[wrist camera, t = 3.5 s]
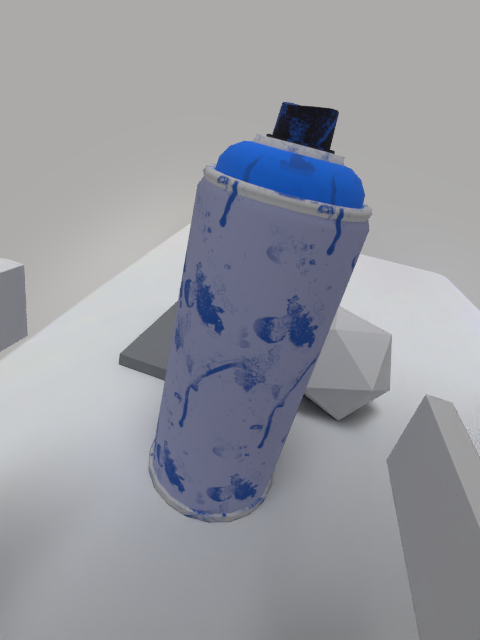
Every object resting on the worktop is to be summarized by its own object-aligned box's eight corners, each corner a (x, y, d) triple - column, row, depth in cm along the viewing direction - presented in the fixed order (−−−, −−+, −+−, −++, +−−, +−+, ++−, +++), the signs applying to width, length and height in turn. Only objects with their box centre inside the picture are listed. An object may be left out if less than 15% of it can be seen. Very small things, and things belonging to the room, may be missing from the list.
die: (387, 419, 32) (385, 313, 33) (398, 432, 24) (395, 292, 25) (295, 412, 35) (297, 314, 36) (278, 422, 26) (281, 295, 28)
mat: (279, 342, 38) (282, 334, 38) (259, 412, 28) (262, 403, 27) (176, 309, 40) (177, 301, 39) (118, 363, 29) (119, 353, 29)
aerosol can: (296, 485, 23) (452, 141, 14) (189, 550, 18) (323, 81, 9) (225, 405, 28) (305, 116, 19) (127, 439, 23) (171, 68, 14)
